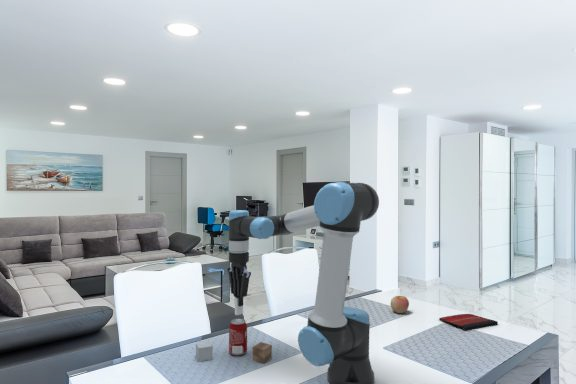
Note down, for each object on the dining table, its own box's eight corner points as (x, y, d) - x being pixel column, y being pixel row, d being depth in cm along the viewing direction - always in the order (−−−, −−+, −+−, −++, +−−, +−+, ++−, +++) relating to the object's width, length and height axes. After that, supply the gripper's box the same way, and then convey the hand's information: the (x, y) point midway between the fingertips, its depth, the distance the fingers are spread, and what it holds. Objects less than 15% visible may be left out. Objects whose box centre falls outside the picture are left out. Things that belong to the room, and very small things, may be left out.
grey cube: (212, 359, 140) (212, 346, 140) (198, 362, 138) (198, 348, 138) (209, 354, 145) (209, 340, 145) (195, 356, 143) (196, 342, 143)
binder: (497, 321, 179) (464, 327, 170) (498, 326, 179) (464, 332, 170) (469, 311, 193) (437, 317, 185) (469, 316, 193) (437, 322, 185)
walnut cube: (271, 358, 142) (271, 344, 142) (263, 363, 138) (264, 349, 137) (260, 355, 144) (260, 341, 144) (252, 360, 140) (252, 346, 140)
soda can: (243, 357, 142) (244, 324, 142) (226, 355, 144) (226, 323, 143) (249, 349, 149) (249, 318, 149) (232, 348, 150) (232, 317, 150)
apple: (410, 311, 196) (410, 295, 196) (405, 316, 189) (405, 300, 189) (393, 308, 201) (393, 293, 201) (388, 313, 194) (388, 297, 193)
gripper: (257, 252, 143) (257, 316, 143) (238, 248, 153) (238, 308, 153) (239, 254, 138) (239, 320, 138) (221, 250, 148) (221, 311, 148)
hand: (238, 313), depth 146 cm, fingers closed
